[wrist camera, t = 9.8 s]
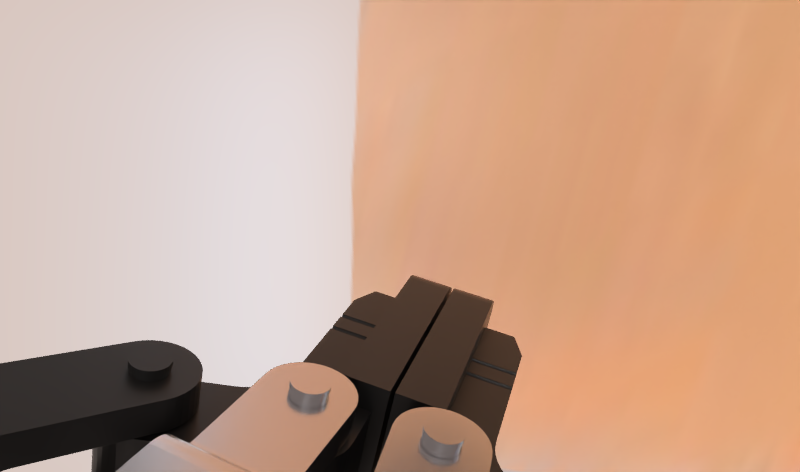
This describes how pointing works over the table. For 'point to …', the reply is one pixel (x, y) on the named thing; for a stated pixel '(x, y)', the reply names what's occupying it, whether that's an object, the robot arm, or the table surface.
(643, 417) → the table surface
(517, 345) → the robot arm
